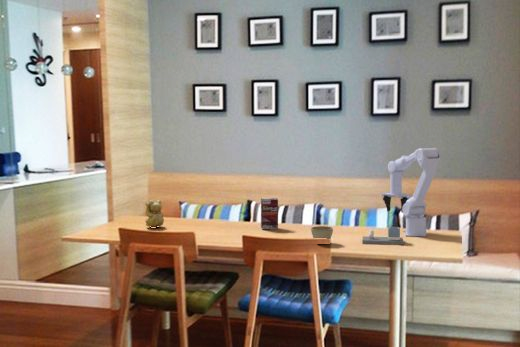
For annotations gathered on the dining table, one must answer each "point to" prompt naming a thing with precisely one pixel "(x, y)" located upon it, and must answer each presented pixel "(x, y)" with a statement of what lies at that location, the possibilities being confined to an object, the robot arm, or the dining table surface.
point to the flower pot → (322, 232)
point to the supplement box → (269, 213)
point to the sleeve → (393, 233)
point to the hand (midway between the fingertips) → (395, 211)
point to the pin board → (380, 240)
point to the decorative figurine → (154, 214)
